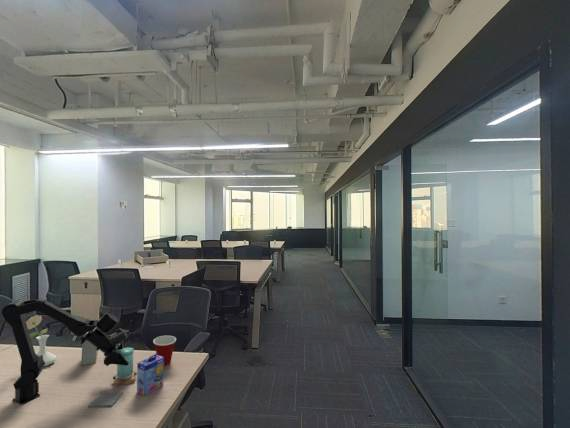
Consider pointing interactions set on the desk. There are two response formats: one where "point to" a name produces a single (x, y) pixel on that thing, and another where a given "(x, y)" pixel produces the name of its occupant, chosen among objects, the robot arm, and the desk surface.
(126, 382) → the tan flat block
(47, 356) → the flower in vase
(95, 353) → the skincare box
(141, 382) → the ink cartridge box
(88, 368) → the desk surface
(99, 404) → the mat
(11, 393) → the desk surface
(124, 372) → the teal rounded cylinder
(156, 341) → the plastic cup
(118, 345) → the robot arm
